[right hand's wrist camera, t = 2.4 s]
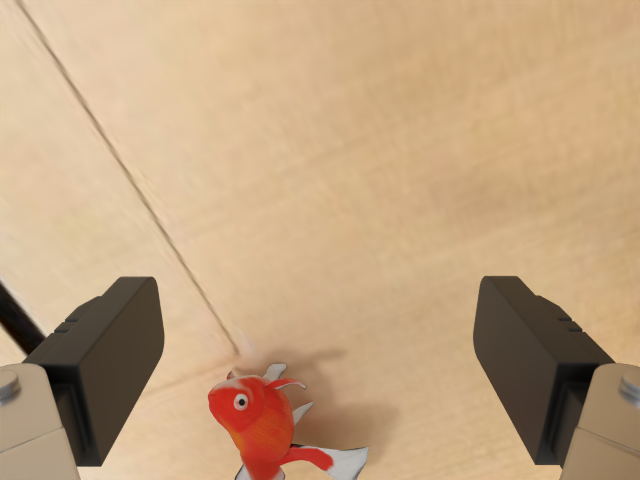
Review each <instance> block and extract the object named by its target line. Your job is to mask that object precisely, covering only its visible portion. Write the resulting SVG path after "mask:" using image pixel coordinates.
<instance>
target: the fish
mask: <svg viewBox="0 0 640 480" xmlns="http://www.w3.org/2000/svg"><path fill="white" fill-rule="evenodd" d="M285 369H286V365H285V364H272V365H270V366H269V368H268V370H267V372H266V374H265V375H264V376H263V377H260V376H257V375H246V376H241V377H236V378H235V376H234V375H233V373H232V372H230V373H229V374H228V376H227V381H224V382H222V383H219V384H217V385H216V386H215V387H214V388H213V389H212V390H211V391H210V392H209V394H208V400H209V408H210V411H211V413H212V414H213V416H214V417H215V418H216V420H217V421H218V422H219V423H220V424H221V425H222V426H223V427H224V428H225V429H226V430H227V431H228V432H229V434H230V435H231V437H232V439H233V441H234V443H235V445H236V447H237V448H238V449H239V450H240V452H241V454H240V455H241V458H242V462H243V465H242V467H241V469H240V470H239V472H238V474H237V475H236V477H235V480H284V479H285V474H284V472H283V470H282V469H281V467H280V465H283V464H285V463H288V462H292V461H297V460H305V461H310V462H311V463H313V464H315V465H316V466H317V467H319V468H320V469H322V470H323V471H325V472H326V473H328V474H329V475H330V476H331V477H333V478H334V479H335V480H356V479H357V477H358V475H359V473H360V471H361V470H362V468H363V467H364V465H365V464H366V460H367V455H368V450H369V447H364V448H357V449H350V450H333V449H325V448H318V447H311V446H304V445H298V444H291V442H292V438H293V431H294V427H295V426H296V425H297V423H298V422H299V421H300V419H301V418H302V417H303V415H304V414H305V413H306V412H307V411H308V409H309V408H310V407H311V406H312V405H313V402H310V403H308V404H306V405H303V406H301V407H299V408H297V409H296V410H294V411H293V412H292V409H291V405H290V403H289V401H288V399H287V397H286V396H285V394H284V392H283V391H282V390H281V389H280V388H282V387H284V386H287V385H289V384H299V385H300V386H302V387H303V388H304V389H306V387H307V386H306V385H304V384H302V383H300V382H298V381H296V380H293V379H289V378H285V379H279V377H280V375H281V374H282V372H283V371H284V370H285Z"/></svg>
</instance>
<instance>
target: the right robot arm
mask: <svg viewBox="0 0 640 480" xmlns="http://www.w3.org/2000/svg"><path fill="white" fill-rule="evenodd" d="M473 342H474V349H475V353H476V356H477V358H478V360H479V362H480V364H481V366H482V367H483V369H484V371H485V373H486V375H487V377H488V378H489V380H490V382H491V384H492V386H493V388H494V390H495V391H496V393H497V395H498V397H499V399H500V401H501V402H502V404H503V406H504V408H505V410H506V412H507V414H508V415H509V417H510V419H511V421H512V423H513V425H514V426H515V428H516V430H517V432H518V434H519V436H520V437H521V439H522V441H523V443H524V445H525V447H526V449H527V450H528V452H529V454H530V456H531V458H532V460H533V461H534V463H535V465H560V466H561V468H562V473H561V476H560V479H559V480H640V367H638V366H634V365H629V364H621V363H616V362H615V361H614V360H613V359H612V358H611V357H610V356H609V355H608V354H607V353H606V352H605V351H604V350H603V349H602V348H601V347H600V346H599V345H598V344H597V343H596V342H595V341H593V340H592V339H591V338H590V337H589V336H588V335H587V334H586V333H585V332H582V329H581V328H580V327H579V326H578V325H577V324H576V323H575V322H574V321H572V319H571V318H570V317H569V316H568V315H567V314H566V313H565V312H564V311H563V310H562V309H561V308H560V307H559V306H558V305H556V304H554V303H552V302H550V301H549V300H547V299H545V298H543V297H541V296H536V295H535V294H534V293H533V292H532V291H531V290H530V289H529V288H528V287H527V286H526V285H525V284H524V283H523V282H522V281H521V280H520V278H518V277H517V276H484V277H483V279H482V281H481V284H480V289H479V296H478V303H477V310H476V317H475V324H474V332H473ZM163 348H164V327H163V321H162V314H161V307H160V300H159V293H158V286H157V282H156V280H155V278H153V277H120V278H118V279H117V280H116V282H115V283H114V284H113V285H112V286H111V287H110V288H109V289H108V290H107V291H106V292H105V293H104V294H103V295H102V296H97V297H95V298H93V299H92V300H90V301H88V302H86V303H84V304H83V305H81V306H79V307H77V308H76V309H75V310H74V311H73V312H72V313H71V314H70V315H69V316H68V317H67V318H66V319H65V322H62V323H61V324H60V325H59V326H58V327H57V328H56V329H55V330H54V333H51V334H50V335H49V336H48V337H47V338H46V339H45V340H44V341H43V342H42V343H41V344H40V345H39V346H38V347H37V348H36V349H35V350H34V351H33V352H32V353H31V354H30V355H29V356H28V357H27V358H26V359H25V360H24V361H23V362H22V363H19V364H11V365H6V366H2V367H0V480H81V479H80V476H79V473H78V470H77V467H101V466H102V464H103V462H104V460H105V459H106V457H107V455H108V453H109V451H110V449H111V448H112V446H113V444H114V442H115V440H116V438H117V437H118V435H119V433H120V431H121V429H122V428H123V426H124V424H125V422H126V420H127V418H128V417H129V415H130V413H131V411H132V409H133V407H134V406H135V404H136V402H137V400H138V398H139V397H140V395H141V393H142V391H143V389H144V387H145V386H146V384H147V382H148V380H149V378H150V377H151V375H152V373H153V371H154V369H155V367H156V366H157V364H158V362H159V360H160V358H161V356H162V353H163Z"/></svg>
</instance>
